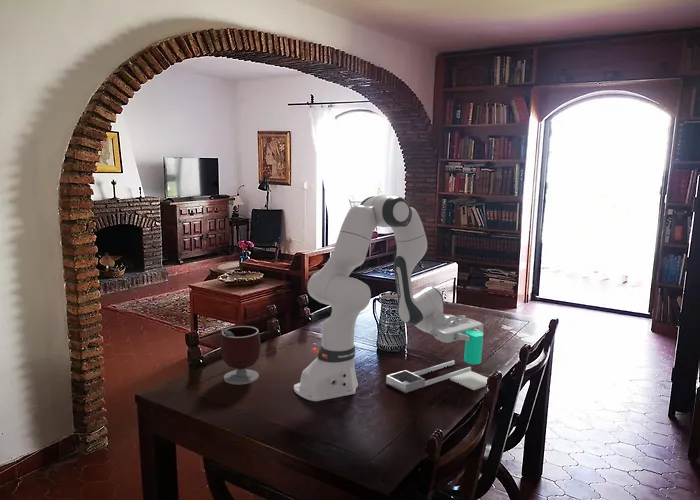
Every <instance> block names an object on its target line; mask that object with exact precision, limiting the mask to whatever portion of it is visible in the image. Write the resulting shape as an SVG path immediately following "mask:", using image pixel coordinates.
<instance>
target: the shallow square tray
mask: <svg viewBox="0 0 700 500" xmlns="http://www.w3.org/2000/svg"><path fill="white" fill-rule="evenodd" d="M385 376H386V379H385V380H386V381H385V384H386V385H388V386H389V387H392V388H394V389H395V390H398V391H400V392H401V393H403V394H409V393H412V392H415V391H418V390H420V389H424V388H425V387H426V386H425V381H426V379H425V378H423V377H422V376H421V375H419V376H417V375H415V374H413V372H411V371H409V370H406V369H405V370H402V371H397V372H395V373H390V374H387V375H385Z"/></svg>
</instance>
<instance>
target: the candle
mask: <svg viewBox="0 0 700 500" xmlns="http://www.w3.org/2000/svg"><path fill="white" fill-rule="evenodd" d="M477 332H478V333H477ZM466 335H469V336H471V341H466V340H464V354H463V361H464V363H466V364H468V365H479V364H481V363H482V355H483V354H482V353H483V345H484V344H483V342H484V332H483V333H482V332H479V331H466Z"/></svg>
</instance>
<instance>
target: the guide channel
mask: <svg viewBox="0 0 700 500" xmlns="http://www.w3.org/2000/svg"><path fill="white" fill-rule="evenodd" d="M455 361H456V360H454V359H452V360H450V361H446V362H443V363H440V364H437V365H433V366H431V367H427V368H424V369H420V370H417V371H414V372H413V371H412V373H413V374H415V375H417V376H422V375H425V374H428V372H429V373H431V371H432V372H434V371H437V370H441V369H444V367H445V368H447V366H448V367H451V366H454V365H455V364H456V362H455ZM469 371H472V367H471V366H468V367H465V368H462V369H458V370H455V371H452V372H449V373H446V374H443V375H439V376H436V377H434V378H430V379H427V380H425V387H426V386H430V385H433V384H436V383H438V382H442V381H445V380H448V379H450V377H454V376H457V375H460V374H463V373H466V372H469Z"/></svg>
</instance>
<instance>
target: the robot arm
mask: <svg viewBox="0 0 700 500" xmlns="http://www.w3.org/2000/svg"><path fill="white" fill-rule="evenodd" d="M377 227H381V228H391V230H392V231H393V235H394V236H393V237H394V239H395V243H396V244H395V245H396V255H395V259H394V261H393V272H394V280H395V287H396V293H397V295H396V296H397V314H398V317H399V320H401V322H403V323H405V324H406V325H409V326H415V327H416V328H418V329H419V330H420V331H422V332H425V333H427V334H430V335H431V336H433V337H434V338H435V339H436V340H438V341H440V342H442V343H445V344H448V343H452V342H456V341H465V340H466V341H471V336H469V335H466V331H479V332H482V333H483V334H484V324H483V322H481V321H478V320H475V319H472V318H468V317H466V315H462V314H461V315H460V314H459V315H452V314H445V313H444V297H443V294H442V293H441V291H440V290H438V289H437V288H436V287H434V286H426V287H424V288H422V289H420V290H419V291H417V292H415V293H413V287H412V273H413V270H414V269H415V267H416V266H417V264H419V262H420V261H421V260H422V259H423V257H424V256H425V254H426V252H427V250H428V239H427V235H426V232H425V227H424V225H423V222H422V220H421V217H420V215H419V213H418V212H417V210H416V208H414V207H412V206H410V204H409V201H407V200H406V199H405V198H403V197H402V196H398V195H384V194H382V195H375V196H374V195H373V196H368V197H367V198H364V200H362V201H361V202H360V203H359V204H357V205H353V206H352V207H350V209H348V211H347V213H346V215H345V217H344V220H343V222H342V224H341V227H340V230H339V233H338V236H337V238H336V242H335V245H334V248H333V251H332V252H331V255H330V257H329V258H328V260H327V261H326V263H325V264H324V266H323V267H322V268H321V269H319V270H318V271H317V272H315V273H313V274H312V275H311V276H310V278H309V279H308V281H307V287H306V289H307V292H308V295H309V296H310V297H311V298H312V299H313V300H315V301H317V302H318V303H320V304H322V305H323V304H324V305H327V306H331V314H330V317H328V318H326V319H325V320H324V321H323V323H322V324H321V345H320V347H319V348H316V347H313V348H312V349H311V353H312V354H314V355H315V356H317V357H316V358H315V359H314V360H312V362H311V363H309V365H308V366H307V367H306V368H304V369H303V370H302V373H301V376H300V380H299V381H300V382H298V383H295V384H293V391H294V392H295V394H297V395H298V396H299V397H301V398H303V399H306V400H308V401H311V402H321V401H325V400H330V399H331V400H332V399H336V398H340V397H345V396H350V395H355V394H356V390H357V388H358V386H359V383H358V379H357V374H356V368H355V367H356V366H355V357H356V345H355V328H356V327H355V325H356V322H357V319H358V317H359V315H360V313H361V312H362V311H364V310H365V309H366V308H367V307H368V305H369V303H370V301H371V297H372V292H371V289H370V286H369V285H368V284H367V283H365V282H363V280H359V279H358V278H356V277H355V278H354V277H352V276H351V277H350V275H351V274H352V272H353V271H354V270H355V269H357V268H358V267H361V266H362V265H363V264H364V262H365V261H366V258H367V254H368V252H369V248H370V244H371V241H372V239H373V234H374V230H375V229H376V228H377ZM477 333H478V332H477Z"/></svg>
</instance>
